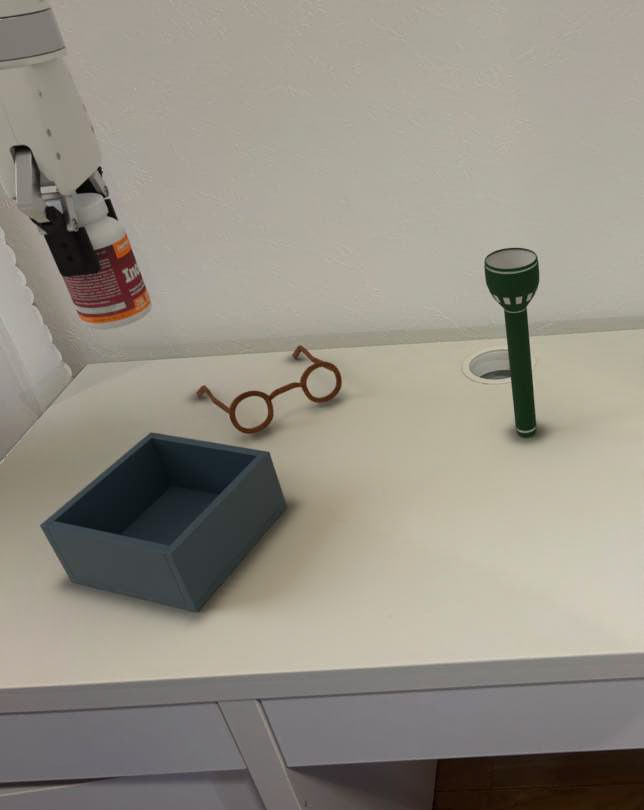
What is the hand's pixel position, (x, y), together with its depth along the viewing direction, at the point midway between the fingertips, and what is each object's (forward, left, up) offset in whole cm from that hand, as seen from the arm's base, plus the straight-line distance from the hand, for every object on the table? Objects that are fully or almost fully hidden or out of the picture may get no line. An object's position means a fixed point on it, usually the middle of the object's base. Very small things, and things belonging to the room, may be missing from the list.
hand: (94, 256), depth 71 cm
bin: (+12, -6, -24) cm, 27 cm away
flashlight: (+28, +25, -24) cm, 44 cm away
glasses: (-2, +14, -24) cm, 27 cm away
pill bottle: (0, 0, -6) cm, 6 cm away
